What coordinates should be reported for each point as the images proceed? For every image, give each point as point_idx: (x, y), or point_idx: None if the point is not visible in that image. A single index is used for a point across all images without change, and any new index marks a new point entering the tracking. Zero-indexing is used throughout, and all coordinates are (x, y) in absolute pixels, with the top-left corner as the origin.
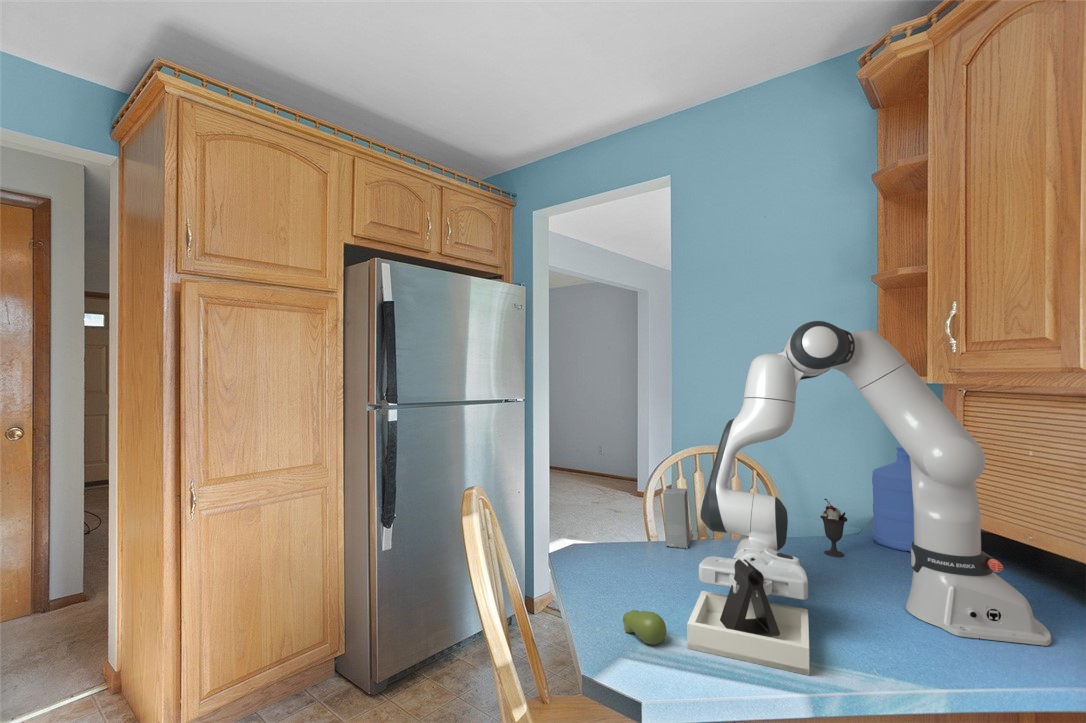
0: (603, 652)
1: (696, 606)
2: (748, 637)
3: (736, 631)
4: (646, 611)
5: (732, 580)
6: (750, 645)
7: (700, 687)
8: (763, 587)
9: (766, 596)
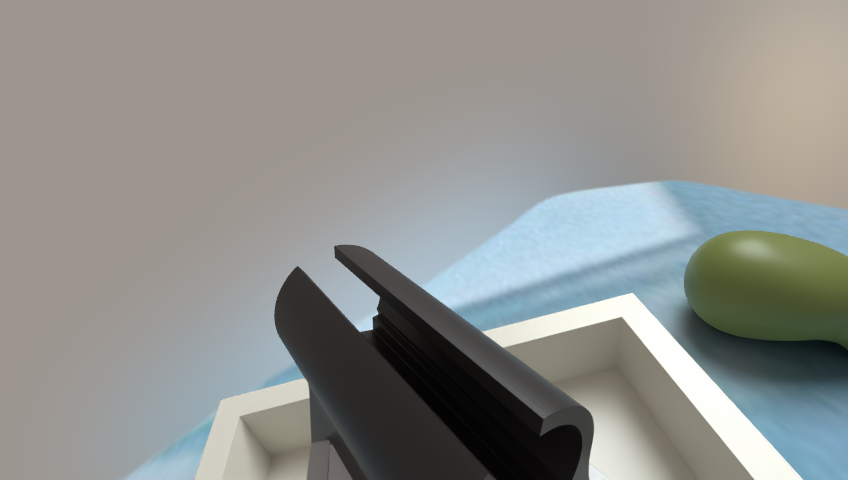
0: (747, 221)
1: (773, 460)
2: None
3: None
4: (818, 261)
5: (590, 468)
6: None
7: (491, 259)
8: (315, 472)
9: (311, 436)
